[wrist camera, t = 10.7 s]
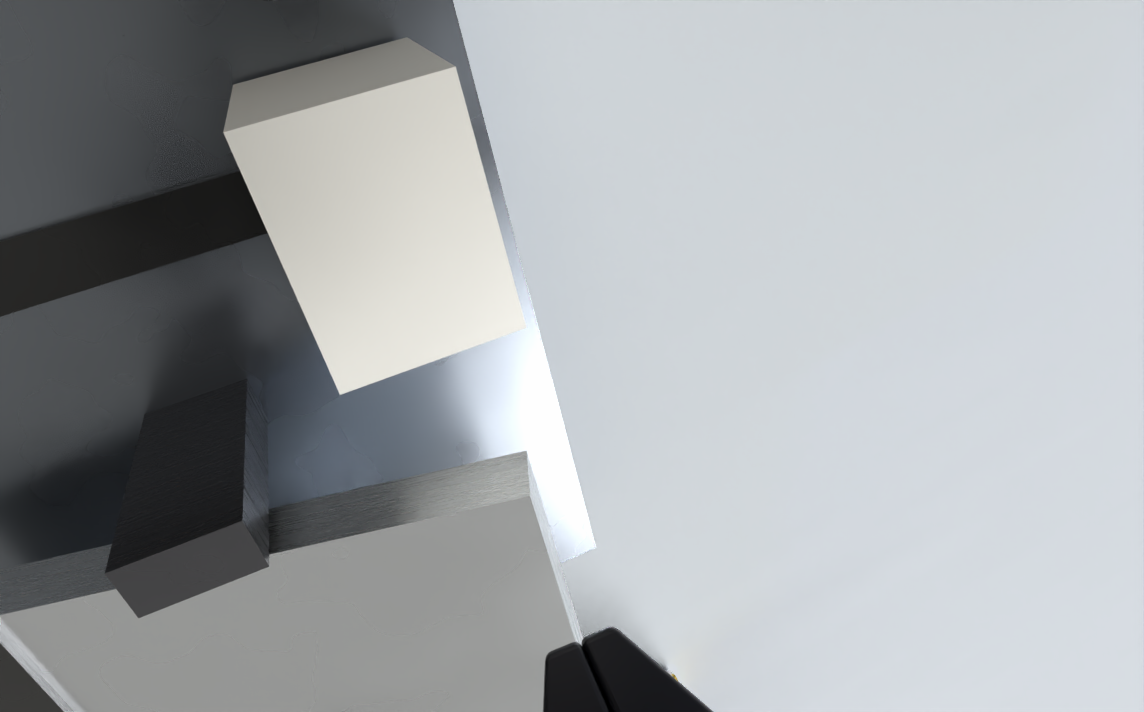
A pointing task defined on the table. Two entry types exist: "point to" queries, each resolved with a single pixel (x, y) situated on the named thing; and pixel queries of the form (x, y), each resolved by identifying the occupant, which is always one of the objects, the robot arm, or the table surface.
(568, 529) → the panel
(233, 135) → the block
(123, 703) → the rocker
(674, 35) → the table surface
